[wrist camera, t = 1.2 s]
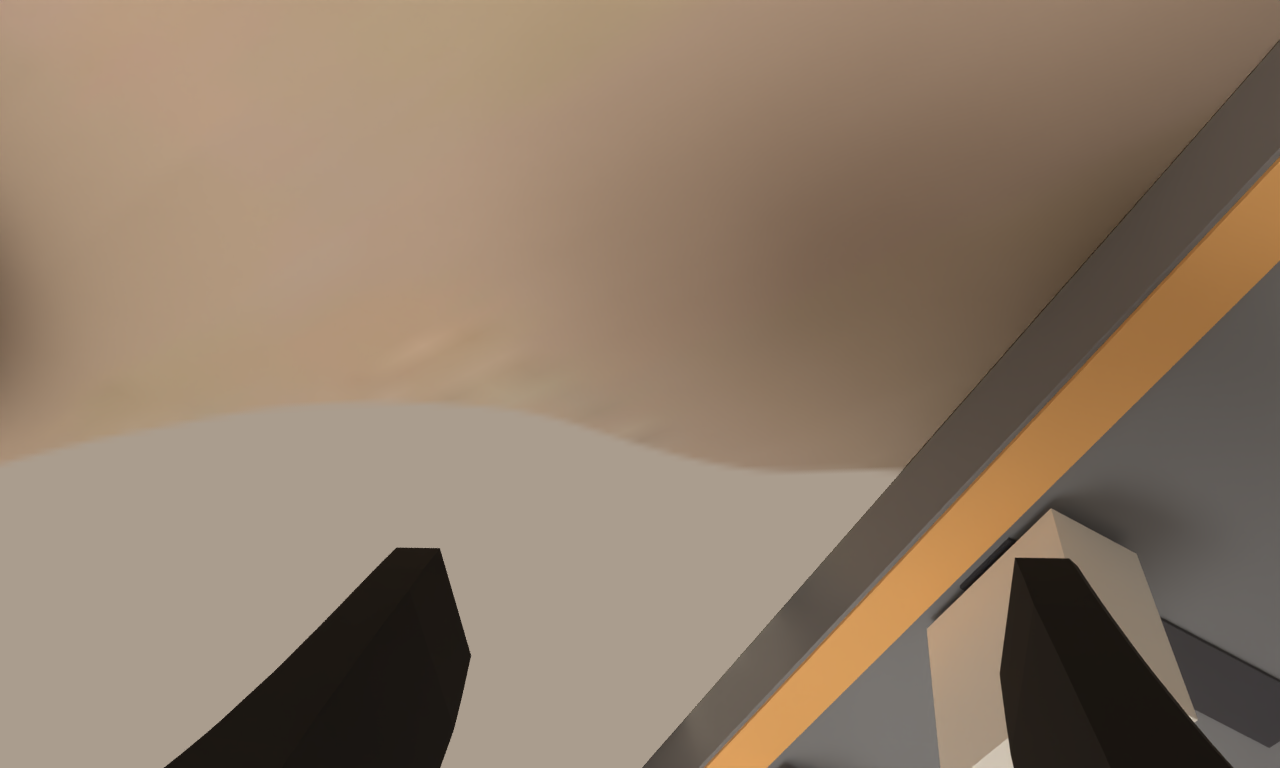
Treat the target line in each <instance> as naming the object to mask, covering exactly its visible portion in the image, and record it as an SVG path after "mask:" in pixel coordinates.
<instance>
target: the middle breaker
mask: <svg viewBox="0 0 1280 768" xmlns="http://www.w3.org/2000/svg"><path fill="white" fill-rule="evenodd" d="M1015 558H1069V559H1071V560H1072V561H1073V562H1074V563H1075V564H1076V565H1077V566H1078V567H1079V569H1080V570H1081V572H1082V573H1083V575H1084V576H1085V578H1086V579H1087V581H1088V582H1089V584H1090V585H1091V587H1092V588H1093V590H1094V591H1095V593H1096V594H1097V596H1098V597H1099V599H1100V600H1101V602H1102V603H1103V604H1104V606H1105V607H1106V609H1107V610H1108V612H1109V613H1110V614H1111V616H1112V617H1113V619H1114V620H1115V621H1116V623H1117V624H1118V626H1119V627H1120V628H1121V630H1122V631H1123V632H1124V634H1125V635H1126V636H1127V638H1128V639H1129V641H1130V642H1131V643H1132V645H1133V646H1134V647H1135V649H1136V650H1137V651H1138V653H1139V654H1140V655H1141V657H1142V658H1143V659H1144V661H1145V662H1146V663H1147V664H1148V666H1149V667H1150V668H1151V670H1152V671H1153V672H1154V673H1155V675H1156V676H1157V677H1158V678H1159V680H1160V681H1161V682H1162V683H1163V685H1164V686H1165V687H1166V688H1167V690H1168V691H1169V692H1170V693H1171V695H1172V696H1173V697H1174V698H1175V700H1176V701H1177V702H1178V703H1179V705H1180V706H1181V707H1182V708H1183V709H1184V711H1185V712H1186V713H1187V714H1188V716H1189V717H1190V718H1191V719H1192V721H1193V722H1196V721H1197V720H1198V719H1197V716H1196V713H1195V710H1194V708H1193V705H1192V702H1191V700H1190V697H1189V694H1188V691H1187V689H1186V686H1185V683H1184V681H1183V678H1182V675H1181V673H1180V670H1179V667H1178V664H1177V662H1176V659H1175V656H1174V654H1173V651H1172V648H1171V645H1170V643H1169V640H1168V637H1167V635H1166V632H1165V629H1164V627H1163V624H1162V621H1161V618H1160V616H1159V613H1158V610H1157V608H1156V605H1155V602H1154V599H1153V597H1152V594H1151V591H1150V589H1149V586H1148V583H1147V581H1146V578H1145V575H1144V572H1143V570H1142V567H1141V564H1140V562H1139V559H1138V556H1137V554H1136V553H1134V552H1132V551H1130V550H1128V549H1127V548H1125V547H1123V546H1121V545H1119V544H1117V543H1115V542H1113V541H1112V540H1110V539H1108V538H1106V537H1104V536H1102V535H1100V534H1098V533H1097V532H1095V531H1093V530H1091V529H1089V528H1087V527H1085V526H1083V525H1082V524H1080V523H1078V522H1076V521H1074V520H1072V519H1070V518H1068V517H1067V516H1065V515H1063V514H1061V513H1059V512H1057V511H1055V510H1053V509H1052V508H1051V509H1050V510H1049V511H1048V512H1047V513H1046V514H1044V515H1043V516H1042V517H1041V518H1040V519H1039V520H1038V521H1037V522H1036V523H1035V524H1034V525H1033V526H1032V527H1031V528H1030V529H1029V530H1028V531H1027V532H1026V533H1025V534H1024V535H1023V536H1022V537H1021V538H1020V539H1019V540H1018V541H1017V542H1016V543H1015V544H1014V545H1013V546H1012V547H1011V548H1009V549H1008V550H1007V551H1006V552H1005V553H1004V554H1003V555H1002V556H1001V557H1000V558H999V559H998V560H997V561H996V562H995V563H994V564H993V565H992V566H991V567H990V568H989V569H988V570H987V571H986V572H985V573H984V574H983V575H982V576H981V577H980V578H979V579H978V580H977V581H976V582H974V583H973V584H972V585H971V586H970V587H969V588H968V589H967V590H966V591H965V592H964V593H963V594H962V595H961V596H960V597H959V598H958V599H957V600H956V601H955V602H954V603H953V604H952V605H951V606H950V607H949V608H948V609H947V610H946V611H945V612H944V613H943V614H942V615H941V616H939V617H938V618H937V619H936V620H935V621H934V622H933V623H932V624H931V625H930V626H929V627H928V628H927V638H928V648H929V658H930V668H931V678H932V688H933V699H934V709H935V719H936V729H937V739H938V749H939V760H940V768H1014V767H1013V763H1012V759H1011V754H1010V747H1009V740H1008V733H1007V726H1006V720H1005V712H1004V705H1003V697H1002V689H1001V682H1000V666H1001V659H1002V651H1003V644H1004V636H1005V629H1006V621H1007V614H1008V606H1009V598H1010V591H1011V583H1012V576H1013V568H1014V561H1015Z"/></svg>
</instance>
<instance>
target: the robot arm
mask: <svg viewBox="0 0 1280 768" xmlns="http://www.w3.org/2000/svg"><path fill="white" fill-rule="evenodd" d="M470 658H471V654H470V651H469V647H468V644H467V640H466V637H465V633H464V630H463V627H462V623H461V620H460V616H459V613H458V609H457V606H456V603H455V599H454V596H453V592H452V589H451V585H450V582H449V578H448V575H447V571H446V568H445V565H444V561H443V558H442V554H441V551H440V548H396V549H395V550H394V551H393V552H392V553H391V554H390V555H389V556H388V557H387V558H386V559H385V560H384V561H383V562H382V563H381V564H380V565H379V566H378V567H377V568H376V569H375V570H374V571H373V572H372V573H371V574H370V575H369V576H368V577H367V578H366V579H365V580H364V581H363V582H362V583H361V584H360V585H359V586H358V587H357V588H356V589H355V590H354V592H352V594H350V595H349V597H348V598H347V599H346V600H345V601H344V602H343V603H342V604H341V605H340V606H339V607H338V608H337V609H336V610H335V611H334V612H333V613H332V614H331V615H330V616H329V617H328V618H327V620H325V622H323V623H322V624H321V626H319V627H318V629H317V630H315V631H314V632H313V634H311V635H310V636H309V638H308V639H306V640H305V641H304V642H303V644H301V645H300V646H299V647H298V649H296V650H295V651H294V652H293V653H292V654H291V655H290V656H289V657H288V658H287V659H286V660H285V661H284V662H283V663H282V664H281V665H280V666H279V667H278V668H277V669H276V670H275V671H274V672H273V673H272V674H271V675H270V676H269V677H268V678H267V679H265V680H264V681H263V682H262V684H260V685H259V686H258V687H257V688H256V689H255V690H254V691H252V692H251V693H250V694H249V695H248V696H247V697H246V698H245V699H244V700H243V701H242V702H241V703H239V704H238V705H237V706H236V707H235V708H234V709H233V710H232V711H231V712H230V713H229V714H227V715H226V716H225V717H224V718H223V719H222V720H221V721H220V722H219V723H218V724H216V725H215V726H214V727H213V728H212V729H211V730H210V731H208V733H206V734H205V735H204V736H202V737H201V738H200V739H199V740H198V741H196V742H195V743H194V744H193V745H192V746H190V747H189V748H188V749H187V750H186V751H184V752H183V753H182V754H181V755H179V756H178V757H177V758H176V759H174V760H173V761H172V762H171V763H170V764H168V765H167V766H166V767H164V768H440V767H441V764H442V761H443V758H444V755H445V753H446V750H447V747H448V744H449V742H450V739H451V736H452V733H453V730H454V727H455V722H456V719H457V715H458V711H459V706H460V703H461V698H462V694H463V690H464V685H465V680H466V676H467V671H468V667H469V662H470ZM1000 682H1001V689H1002V697H1003V705H1004V712H1005V720H1006V726H1007V733H1008V740H1009V747H1010V754H1011V759H1012V763H1013V767H1014V768H1233V766H1232V765H1231V764H1230V763H1229V762H1228V761H1227V760H1226V759H1225V758H1224V756H1223V755H1222V754H1221V753H1220V752H1219V751H1218V750H1217V749H1216V747H1215V746H1214V745H1213V744H1212V743H1211V742H1210V741H1209V739H1208V738H1207V737H1206V736H1205V735H1204V733H1203V732H1202V731H1201V730H1200V729H1199V728H1198V726H1197V725H1196V724H1195V723H1194V722H1193V721H1192V719H1191V718H1190V717H1189V716H1188V714H1187V713H1186V712H1185V711H1184V709H1183V708H1182V707H1181V706H1180V705H1179V703H1178V702H1177V701H1176V700H1175V698H1174V697H1173V696H1172V695H1171V693H1170V692H1169V691H1168V690H1167V688H1166V687H1165V686H1164V685H1163V683H1162V682H1161V681H1160V680H1159V678H1158V677H1157V676H1156V675H1155V673H1154V672H1153V671H1152V670H1151V668H1150V667H1149V666H1148V664H1147V663H1146V662H1145V661H1144V659H1143V658H1142V657H1141V655H1140V654H1139V653H1138V651H1137V650H1136V649H1135V647H1134V646H1133V645H1132V643H1131V642H1130V641H1129V639H1128V638H1127V636H1126V635H1125V634H1124V632H1123V631H1122V630H1121V628H1120V627H1119V626H1118V624H1117V623H1116V621H1115V620H1114V619H1113V617H1112V616H1111V614H1110V613H1109V612H1108V610H1107V609H1106V607H1105V606H1104V604H1103V603H1102V602H1101V600H1100V599H1099V597H1098V596H1097V594H1096V593H1095V591H1094V590H1093V588H1092V587H1091V585H1090V584H1089V582H1088V581H1087V579H1086V578H1085V576H1084V575H1083V573H1082V572H1081V570H1080V569H1079V567H1078V566H1077V565H1076V564H1075V563H1074V562H1073V561H1072V560H1071V559H1069V558H1015V561H1014V568H1013V576H1012V583H1011V591H1010V598H1009V606H1008V614H1007V621H1006V629H1005V636H1004V644H1003V651H1002V659H1001V666H1000Z"/></svg>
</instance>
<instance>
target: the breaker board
mask: <svg viewBox="0 0 1280 768" xmlns="http://www.w3.org/2000/svg"><path fill="white" fill-rule="evenodd" d="M1051 508H1052V509H1053V510H1055V511H1057V512H1059V513H1061V514H1063V515H1065V516H1067V517H1068V518H1070V519H1072V520H1074V521H1076V522H1078V523H1080V524H1082V525H1083V526H1085V527H1087V528H1089V529H1091V530H1093V531H1095V532H1097V533H1098V534H1100V535H1102V536H1104V537H1106V538H1108V539H1110V540H1112V541H1113V542H1115V543H1117V544H1119V545H1121V546H1123V547H1125V548H1127V549H1128V550H1130V551H1132V552H1134V553H1136V554H1137V556H1138V559H1139V562H1140V564H1141V567H1142V570H1143V572H1144V575H1145V578H1146V581H1147V583H1148V586H1149V589H1150V591H1151V594H1152V597H1153V599H1154V602H1155V605H1156V608H1157V610H1158V613H1159V616H1160V618H1161V621H1162V624H1163V627H1164V629H1165V632H1166V635H1167V637H1168V640H1169V643H1170V645H1171V648H1172V651H1173V654H1174V656H1175V659H1176V662H1177V664H1178V667H1179V670H1180V673H1181V675H1182V678H1183V681H1184V683H1185V686H1186V689H1187V691H1188V694H1189V697H1190V700H1191V702H1192V705H1193V708H1194V710H1195V713H1196V716H1197V719H1198V720H1197V721H1196V722H1194V723H1195V724H1196V725H1197V726H1198V728H1199V729H1200V730H1201V731H1202V732H1203V733H1204V735H1205V736H1206V737H1207V738H1208V739H1209V741H1210V742H1211V743H1212V744H1213V745H1214V746H1215V747H1216V749H1217V750H1218V751H1219V752H1220V753H1221V754H1222V755H1223V756H1224V758H1225V759H1226V760H1227V761H1228V762H1229V763H1230V764H1231V765H1232V766H1233V768H1280V41H1279V42H1278V43H1277V44H1276V46H1275V47H1274V48H1273V49H1272V50H1271V51H1270V52H1269V54H1268V55H1267V56H1266V57H1265V58H1264V59H1263V60H1262V62H1261V63H1260V64H1259V65H1258V66H1257V67H1256V68H1255V70H1254V71H1253V72H1252V73H1251V74H1250V75H1249V76H1248V77H1247V79H1246V80H1245V81H1244V82H1243V83H1242V84H1241V85H1240V87H1239V88H1238V89H1237V90H1236V91H1235V92H1234V93H1233V95H1232V96H1231V97H1230V98H1229V99H1228V100H1227V101H1226V103H1225V104H1224V105H1223V106H1222V107H1221V108H1220V109H1219V111H1218V112H1217V113H1216V114H1215V115H1214V116H1213V117H1212V119H1211V120H1210V121H1209V122H1208V123H1207V124H1206V125H1205V127H1204V128H1203V129H1202V130H1201V131H1200V132H1199V133H1198V135H1197V136H1196V137H1195V138H1194V139H1193V140H1192V141H1191V142H1190V144H1189V145H1188V146H1187V147H1186V148H1185V149H1184V150H1183V152H1182V153H1181V154H1180V155H1179V156H1178V157H1177V158H1176V160H1175V161H1174V162H1173V163H1172V164H1171V165H1170V166H1169V168H1168V169H1167V170H1166V171H1165V172H1164V173H1163V174H1162V176H1161V177H1160V178H1159V179H1158V180H1157V181H1156V182H1155V184H1154V185H1153V186H1152V187H1151V188H1150V189H1149V190H1148V192H1147V193H1146V194H1145V195H1144V196H1143V197H1142V198H1141V200H1140V201H1139V202H1138V203H1137V204H1136V205H1135V206H1134V207H1133V209H1132V210H1131V211H1130V212H1129V213H1128V214H1127V215H1126V217H1125V218H1124V219H1123V220H1122V221H1121V222H1120V223H1119V225H1118V226H1117V227H1116V228H1115V229H1114V230H1113V231H1112V233H1111V234H1110V235H1109V236H1108V237H1107V238H1106V239H1105V241H1104V242H1103V243H1102V244H1101V245H1100V246H1099V247H1098V249H1097V250H1096V251H1095V252H1094V253H1093V254H1092V255H1091V257H1090V258H1089V259H1088V260H1087V261H1086V262H1085V263H1084V265H1083V266H1082V267H1081V268H1080V269H1079V270H1078V271H1077V272H1076V274H1075V275H1074V276H1073V277H1072V278H1071V279H1070V280H1069V282H1068V283H1067V284H1066V285H1065V286H1064V287H1063V288H1062V290H1061V291H1060V292H1059V293H1058V294H1057V295H1056V296H1055V298H1054V299H1053V300H1052V301H1051V302H1050V303H1049V304H1048V306H1047V307H1046V308H1045V309H1044V310H1043V311H1042V312H1041V314H1040V315H1039V316H1038V317H1037V318H1036V319H1035V320H1034V322H1033V323H1032V324H1031V325H1030V326H1029V327H1028V328H1027V330H1026V331H1025V332H1024V333H1023V334H1022V335H1021V336H1020V337H1019V339H1018V340H1017V341H1016V342H1015V343H1014V344H1013V345H1012V347H1011V348H1010V349H1009V350H1008V351H1007V352H1006V353H1005V355H1004V356H1003V357H1002V358H1001V359H1000V360H999V361H998V363H997V364H996V365H995V366H994V367H993V368H992V369H991V371H990V372H989V373H988V374H987V375H986V376H985V377H984V379H983V380H982V381H981V382H980V383H979V384H978V385H977V387H976V388H975V389H974V390H973V391H972V392H971V393H970V395H969V396H968V397H967V398H966V399H965V400H964V401H963V402H962V404H961V405H960V406H959V407H958V408H957V409H956V410H955V412H954V413H953V414H952V415H951V416H950V417H949V418H948V420H947V421H946V422H945V423H944V424H943V425H942V426H941V428H940V429H939V430H938V431H937V432H936V433H935V434H934V436H933V437H932V438H931V439H930V440H929V441H928V442H927V444H926V445H925V446H924V447H923V448H922V449H921V450H920V452H919V453H918V454H917V455H916V456H915V457H914V458H913V459H912V461H911V462H910V463H909V464H908V465H907V466H906V467H905V469H904V470H903V471H902V472H901V473H900V474H899V475H898V477H897V478H896V479H895V480H894V481H893V482H892V483H891V485H890V486H889V487H888V488H887V489H886V490H885V492H884V493H883V494H882V495H881V496H880V497H879V498H878V499H877V501H876V502H875V503H874V504H873V505H872V506H871V507H870V509H869V510H868V511H867V512H866V513H865V514H864V515H863V517H862V518H861V519H860V520H859V521H858V522H857V523H856V524H855V526H854V527H853V528H852V529H851V530H850V531H849V532H848V534H847V535H846V536H845V537H844V538H843V539H842V540H841V542H840V543H839V544H838V545H837V547H835V548H834V550H833V551H832V552H831V553H830V554H829V555H828V556H827V558H826V559H825V560H824V561H823V562H822V563H821V564H820V566H819V567H818V568H817V569H816V570H815V571H814V572H813V574H812V575H811V576H810V577H809V578H808V579H807V580H806V582H805V583H804V584H803V585H802V586H801V587H800V588H799V590H798V591H797V592H796V593H795V594H794V595H793V596H792V597H791V599H790V600H789V601H788V602H787V603H786V604H785V605H784V607H783V608H782V609H781V610H780V611H779V612H778V613H777V615H776V616H775V617H774V618H773V619H772V620H771V621H770V623H769V624H768V625H767V626H766V627H765V628H764V629H763V631H762V632H761V633H760V634H759V635H758V636H757V638H756V639H755V640H754V641H753V642H752V643H751V644H750V645H749V647H748V648H747V649H746V650H745V651H744V652H743V653H742V654H741V656H740V657H739V658H738V659H737V660H736V662H735V663H734V664H733V665H732V666H731V667H730V668H729V669H728V671H727V672H726V673H725V674H724V675H723V676H722V677H721V679H720V680H719V681H718V682H717V683H716V684H715V685H714V686H713V688H712V689H711V690H710V691H709V692H708V693H707V694H706V696H705V697H704V698H703V699H702V700H701V701H700V702H699V704H698V705H697V706H696V707H695V708H694V709H693V710H692V712H691V713H690V714H689V715H688V716H687V717H686V718H685V719H684V721H683V722H682V723H681V724H680V725H679V726H678V728H677V729H676V730H675V731H674V732H673V733H672V735H671V736H670V737H669V738H668V739H667V740H666V741H665V742H664V743H663V745H662V746H661V747H660V748H659V749H658V750H657V751H656V753H655V754H654V755H653V756H652V757H651V758H650V759H649V761H648V762H647V763H646V764H645V765H644V766H643V768H940V760H939V749H938V739H937V729H936V719H935V709H934V699H933V688H932V678H931V668H930V658H929V648H928V638H927V628H928V627H929V626H930V625H931V624H932V623H933V622H934V621H935V620H936V619H937V618H938V617H939V616H941V615H942V614H943V613H944V612H945V611H946V610H947V609H948V608H949V607H950V606H951V605H952V604H953V603H954V602H955V601H956V600H957V599H958V598H959V597H960V596H961V595H962V594H963V593H964V592H965V591H966V590H967V589H968V588H969V587H970V586H971V585H972V584H973V583H974V582H976V581H977V580H978V579H979V578H980V577H981V576H982V575H983V574H984V573H985V572H986V571H987V570H988V569H989V568H990V567H991V566H992V565H993V564H994V563H995V562H996V561H997V560H998V559H999V558H1000V557H1001V556H1002V555H1003V554H1004V553H1005V552H1006V551H1007V550H1008V549H1009V548H1011V547H1012V546H1013V545H1014V544H1015V543H1016V542H1017V541H1018V540H1019V539H1020V538H1021V537H1022V536H1023V535H1024V534H1025V533H1026V532H1027V531H1028V530H1029V529H1030V528H1031V527H1032V526H1033V525H1034V524H1035V523H1036V522H1037V521H1038V520H1039V519H1040V518H1041V517H1042V516H1043V515H1044V514H1046V513H1047V512H1048V511H1049V510H1050V509H1051Z"/></svg>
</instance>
